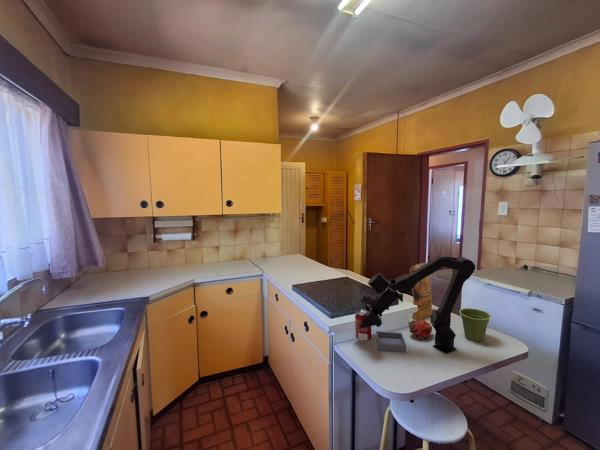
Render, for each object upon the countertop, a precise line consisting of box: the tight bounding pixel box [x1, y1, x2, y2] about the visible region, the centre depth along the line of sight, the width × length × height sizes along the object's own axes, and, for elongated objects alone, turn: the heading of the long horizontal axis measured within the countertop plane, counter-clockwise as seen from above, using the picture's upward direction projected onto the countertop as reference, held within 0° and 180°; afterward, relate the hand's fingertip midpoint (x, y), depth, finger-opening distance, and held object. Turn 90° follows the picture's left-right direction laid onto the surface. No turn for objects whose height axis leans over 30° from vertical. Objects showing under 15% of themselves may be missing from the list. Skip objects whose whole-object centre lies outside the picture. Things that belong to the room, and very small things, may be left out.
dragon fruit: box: [409, 319, 433, 340], centre depth 125 cm, size 8×8×12 cm
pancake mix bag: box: [408, 261, 433, 321], centre depth 146 cm, size 7×19×28 cm, turn 123°
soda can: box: [354, 309, 372, 342], centre depth 120 cm, size 7×7×12 cm
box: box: [375, 330, 407, 354], centre depth 118 cm, size 11×11×3 cm
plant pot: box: [458, 307, 492, 343], centre depth 121 cm, size 12×12×11 cm
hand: (359, 324), depth 121 cm, fingers closed on soda can, 6 cm apart
